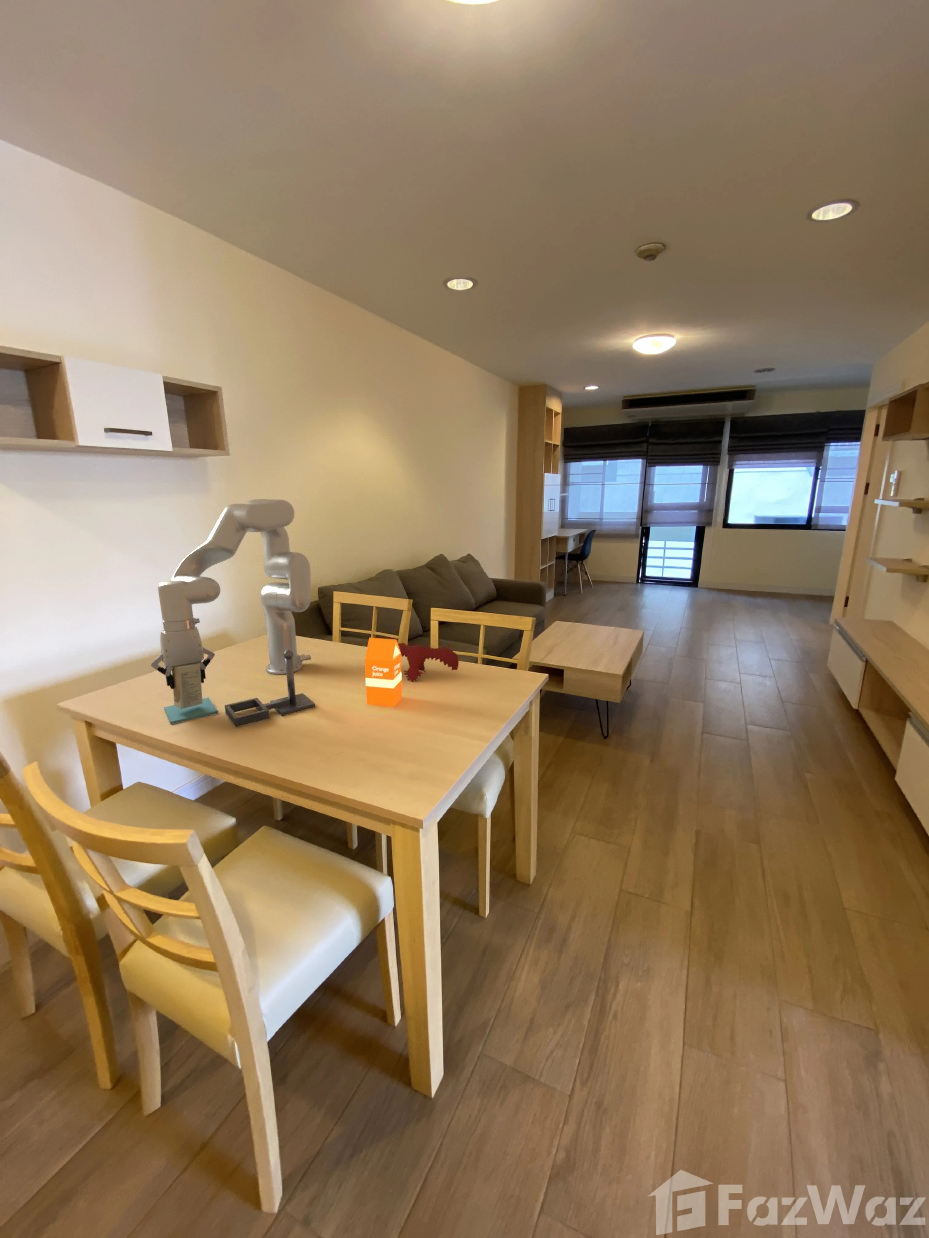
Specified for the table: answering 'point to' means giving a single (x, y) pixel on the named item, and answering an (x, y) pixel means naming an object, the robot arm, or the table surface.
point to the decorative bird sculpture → (421, 653)
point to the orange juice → (383, 672)
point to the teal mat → (190, 711)
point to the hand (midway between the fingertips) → (187, 684)
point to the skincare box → (187, 685)
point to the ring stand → (280, 705)
